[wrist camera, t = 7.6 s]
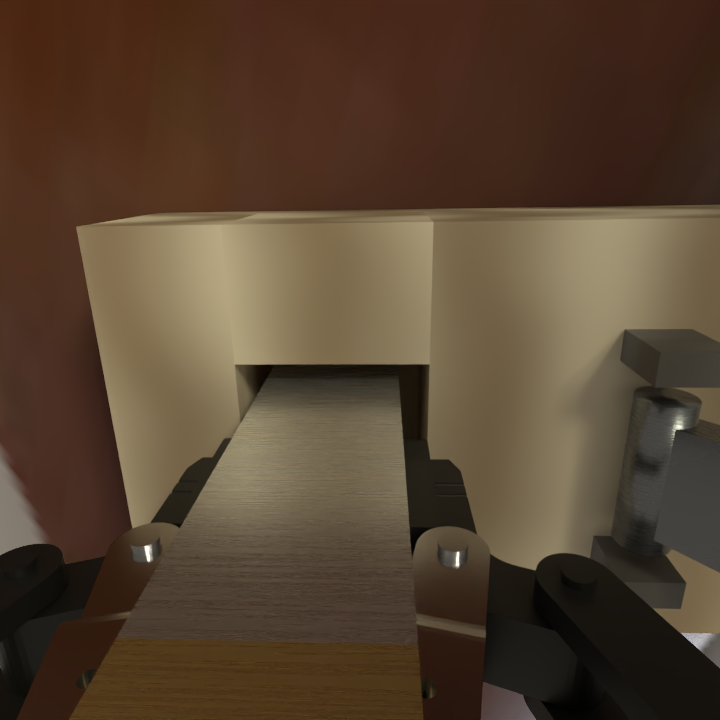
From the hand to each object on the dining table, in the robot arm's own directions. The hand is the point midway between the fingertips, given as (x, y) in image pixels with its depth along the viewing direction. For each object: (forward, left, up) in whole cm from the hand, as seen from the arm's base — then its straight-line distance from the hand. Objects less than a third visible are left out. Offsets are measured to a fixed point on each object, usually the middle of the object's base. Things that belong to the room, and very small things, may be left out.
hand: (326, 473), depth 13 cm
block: (-6, 0, -6) cm, 9 cm away
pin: (0, 0, -3) cm, 3 cm away
